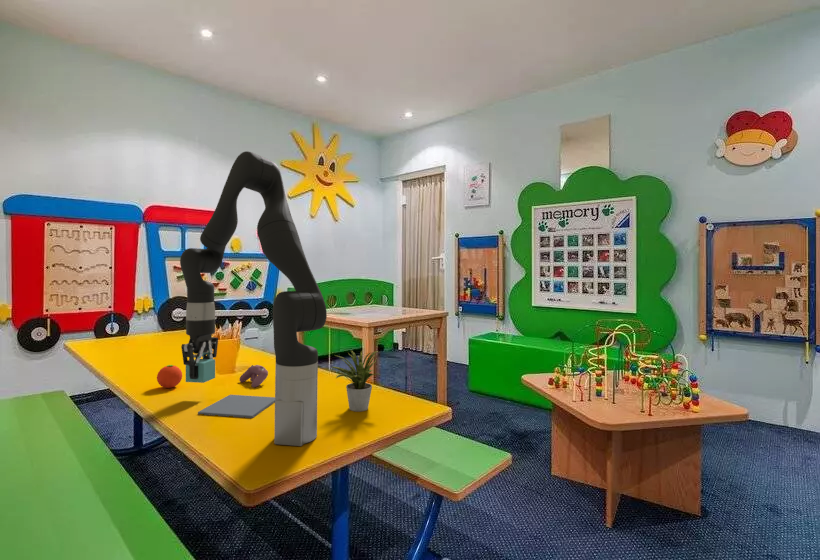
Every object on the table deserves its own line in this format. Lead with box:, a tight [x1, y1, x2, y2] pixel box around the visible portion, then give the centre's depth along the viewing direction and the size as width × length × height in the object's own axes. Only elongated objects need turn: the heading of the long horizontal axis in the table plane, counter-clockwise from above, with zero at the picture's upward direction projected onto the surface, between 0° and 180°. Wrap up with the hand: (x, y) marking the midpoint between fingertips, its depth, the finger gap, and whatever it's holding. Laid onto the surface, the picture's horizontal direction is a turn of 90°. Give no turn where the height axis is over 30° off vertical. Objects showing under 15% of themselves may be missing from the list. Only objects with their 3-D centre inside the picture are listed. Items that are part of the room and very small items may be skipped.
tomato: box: [156, 364, 183, 389], centre depth 131 cm, size 8×7×7 cm
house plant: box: [331, 350, 381, 412], centre depth 116 cm, size 14×14×16 cm
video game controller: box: [239, 364, 269, 388], centre depth 137 cm, size 10×5×7 cm, turn 48°
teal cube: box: [185, 358, 216, 384], centre depth 120 cm, size 6×6×6 cm
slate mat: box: [197, 394, 275, 419], centre depth 114 cm, size 15×15×1 cm
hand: (200, 375), depth 120 cm, fingers closed on teal cube, 5 cm apart
